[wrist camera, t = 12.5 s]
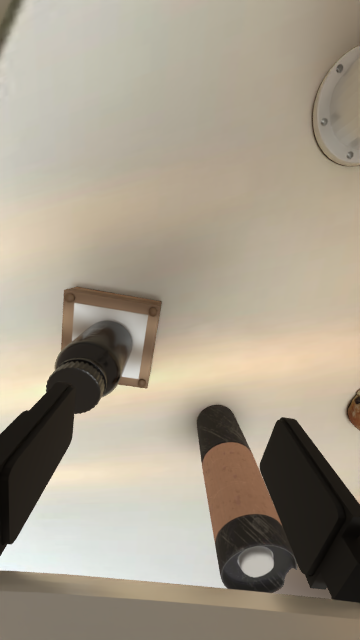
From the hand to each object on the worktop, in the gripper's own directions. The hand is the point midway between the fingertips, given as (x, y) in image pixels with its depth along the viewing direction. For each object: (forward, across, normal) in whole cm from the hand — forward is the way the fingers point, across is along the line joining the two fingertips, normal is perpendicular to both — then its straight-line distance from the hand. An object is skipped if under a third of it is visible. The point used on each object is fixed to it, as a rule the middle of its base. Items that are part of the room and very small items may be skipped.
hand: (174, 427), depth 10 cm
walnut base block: (+25, +9, +6) cm, 27 cm away
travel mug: (+25, -12, +20) cm, 34 cm away
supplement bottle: (+21, +8, +6) cm, 23 cm away
